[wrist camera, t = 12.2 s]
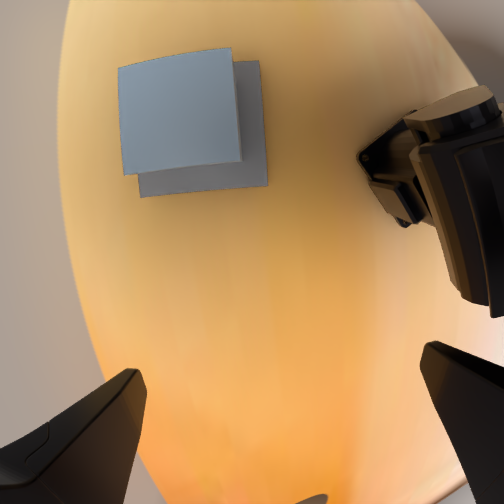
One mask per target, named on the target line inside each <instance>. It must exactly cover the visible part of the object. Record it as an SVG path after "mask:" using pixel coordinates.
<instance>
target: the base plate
mask: <svg viewBox="0 0 504 504" xmlns="http://www.w3.org/2000/svg"><path fill="white" fill-rule="evenodd" d="M233 65H234V72H235V79H236V88H237V100H238V112H239V124H240V136H241V148H242V160H243V161H242V162H231V163H220V164H211V165H202V166H193V167H185V168H177V169H170V170H163V171H155V172H147V173H139V174H138V180H139V189H140V198H143V197H151V196H159V195H168V194H177V193H187V192H197V191H207V190H219V189H231V188H244V187H259V186H268V177H267V162H266V147H265V132H264V118H263V105H262V92H261V80H260V67H259V61H242V62H233Z"/></svg>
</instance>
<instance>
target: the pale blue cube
mask: <svg viewBox="0 0 504 504" xmlns="http://www.w3.org/2000/svg"><path fill="white" fill-rule="evenodd" d="M118 96H119V120H120V136H121V149H122V160H123V170H124V175H132V174H139V173H147V172H155V171H163V170H170V169H177V168H185V167H193V166H202V165H211V164H220V163H231V162H242V161H243V160H242V148H241V136H240V124H239V112H238V100H237V88H236V79H235V72H234V65H233V58H232V51H231V48H222V49H213V50H205V51H198V52H191V53H185V54H179V55H173V56H168V57H163V58H158V59H153V60H149V61H144V62H140V63H136V64H132V65H128V66H124V67H120V68H118Z"/></svg>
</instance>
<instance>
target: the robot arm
mask: <svg viewBox="0 0 504 504" xmlns="http://www.w3.org/2000/svg"><path fill="white" fill-rule="evenodd" d="M363 155H365V156H366V161H363V160H362V156H363ZM356 158H357V161H358V163H359V164H360V166H361V167H362V169H363V170H364V172H365V173H366V175H367V176H368V177H369V179H370V181H369V186H370V188H371V189H372V191H373V192H374V194H375V195H376V197H377V198H378V200H379V201H380V203H381V204H382V206H383V207H384V209H385V211H386V212H387V213H389V214H391V215H393V216H394V218H395V219H396V221H397V223H398V224H399V225H400V226H401V227H404V228H407V227H408V226H410V225H411V224H419V223H420V222H421V221H422V222H424V223H427V224H429V225H431V226H434V227H436V230H437V233H438V236H439V240H440V243H441V246H442V250H443V253H444V257H445V261H446V264H447V268H448V272H449V276H450V281H451V282H452V283H453V284H454V286H455V287H456V288H457V290H458V291H460V293H461V297H462V298H463V299H465V300H467V301H469V302H471V303H475V304H479V305H484V306H489V308H490V316H491V318H497V317H501V316H504V102H502V103H498V104H497V102H496V100H495V97H494V95H493V93H492V92H491V91H490V90H489V89H488V88H487V87H486V86H485V85H481V86H477V87H474V88H470V89H467V90H463V91H460V92H457V93H454V94H452V95H450V96H448V97H446V98H443V99H441V100H439V101H437V102H435V103H433V104H431V105H428V106H426V107H424V108H422V109H420V110H413V111H410V112H409V113H408V114H407V115H405V116H404V117H403V118H402V119H400V120H399V121H398V122H396V123H395V124H394V125H393V126H391V127H390V128H389V129H388V130H386V131H385V132H384V133H382V134H381V135H380V136H379V137H377V138H376V139H375V140H374V141H372V142H371V143H370V144H369V145H367V146H366V147H365V148H363V149H362V150H361V151H360V152H359V153H358V154H357V157H356ZM403 220H405V221H406V222H405V223H403ZM420 370H421V373H422V375H423V378H424V380H425V383H426V386H427V388H428V391H429V394H430V397H431V399H432V402H433V404H434V407H435V409H436V411H437V413H438V415H439V417H440V419H441V421H442V423H443V425H444V427H445V430H446V432H447V434H448V436H449V438H450V440H451V443H452V445H453V447H454V449H455V452H456V454H457V456H458V459H459V461H460V463H461V466H462V468H463V470H464V473H465V475H466V478H467V480H468V483H469V485H470V488H471V491H472V493H473V495H474V498H475V500H476V501H475V502H476V504H504V367H502V366H499V365H497V364H494V363H492V362H489V361H487V360H484V359H482V358H479V357H477V356H474V355H472V354H469V353H467V352H464V351H462V350H459V349H457V348H454V347H452V346H449V345H447V344H444V343H442V342H439V341H432V342H428V343H426V344H425V346H424V349H423V353H422V357H421V361H420ZM146 398H147V389H146V386H145V383H144V380H143V377H142V374H141V372H140V370H139V369H133V368H127V369H125V370H123V371H122V372H120V373H119V374H118V375H116V376H115V377H113V378H112V379H110V380H109V381H107V382H106V383H104V384H103V385H101V386H100V387H99V388H97V389H96V390H94V391H93V392H91V393H90V394H88V395H87V396H85V397H84V398H82V399H81V400H79V401H78V402H76V403H75V404H73V405H72V406H71V407H69V408H67V409H66V410H65V411H63V412H61V413H60V414H58V415H57V416H55V417H54V418H53V419H51V420H50V421H49V422H46V423H45V424H43V425H42V426H40V427H39V428H37V429H35V430H34V431H32V432H30V433H29V434H27V435H25V436H24V437H22V438H20V439H18V440H16V441H14V442H12V443H10V444H8V445H6V446H4V447H3V448H0V504H123V502H124V498H125V494H126V489H127V485H128V481H129V477H130V473H131V469H132V466H133V462H134V458H135V454H136V451H137V447H138V443H139V439H140V435H141V430H142V423H143V417H144V410H145V404H146Z"/></svg>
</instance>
